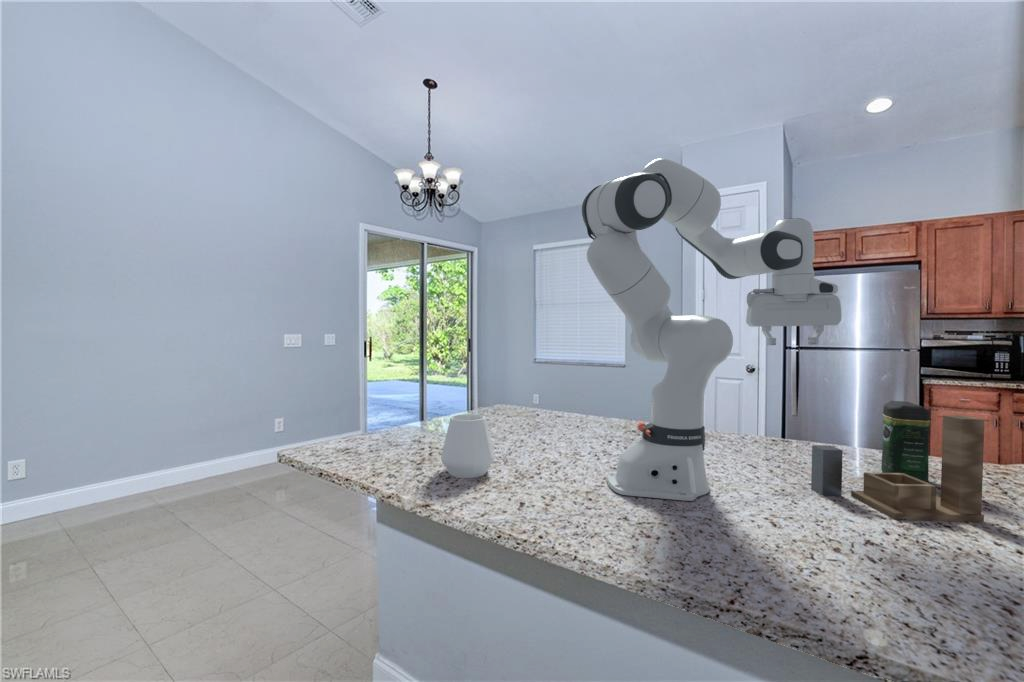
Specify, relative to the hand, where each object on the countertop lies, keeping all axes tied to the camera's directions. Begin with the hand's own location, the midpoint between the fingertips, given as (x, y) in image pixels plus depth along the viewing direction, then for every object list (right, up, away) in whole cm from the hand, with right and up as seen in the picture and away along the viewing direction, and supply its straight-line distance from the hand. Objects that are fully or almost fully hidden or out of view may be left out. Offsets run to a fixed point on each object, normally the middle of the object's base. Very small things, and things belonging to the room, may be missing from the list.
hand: (792, 345), depth 110 cm
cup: (-79, -32, +3) cm, 85 cm away
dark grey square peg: (+1, -33, -10) cm, 34 cm away
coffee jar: (+27, -33, 0) cm, 42 cm away
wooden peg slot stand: (+13, -33, -19) cm, 40 cm away
